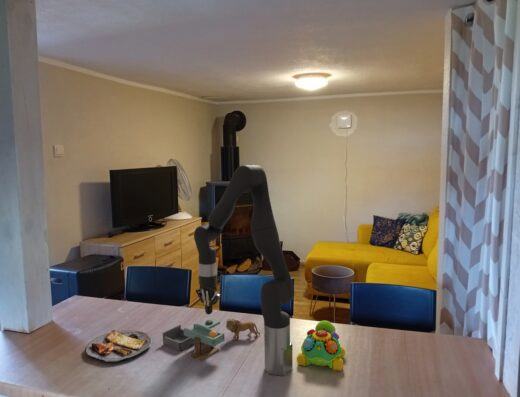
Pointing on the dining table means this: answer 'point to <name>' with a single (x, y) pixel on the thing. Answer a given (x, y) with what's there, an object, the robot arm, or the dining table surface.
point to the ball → (213, 334)
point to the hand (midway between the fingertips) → (208, 313)
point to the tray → (177, 339)
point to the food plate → (118, 344)
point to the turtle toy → (322, 347)
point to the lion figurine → (240, 327)
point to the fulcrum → (202, 350)
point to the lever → (205, 332)
